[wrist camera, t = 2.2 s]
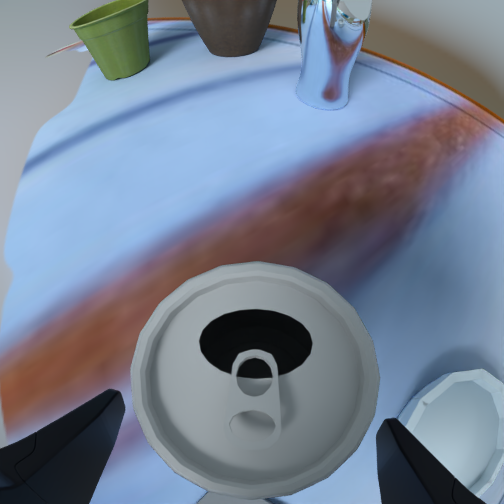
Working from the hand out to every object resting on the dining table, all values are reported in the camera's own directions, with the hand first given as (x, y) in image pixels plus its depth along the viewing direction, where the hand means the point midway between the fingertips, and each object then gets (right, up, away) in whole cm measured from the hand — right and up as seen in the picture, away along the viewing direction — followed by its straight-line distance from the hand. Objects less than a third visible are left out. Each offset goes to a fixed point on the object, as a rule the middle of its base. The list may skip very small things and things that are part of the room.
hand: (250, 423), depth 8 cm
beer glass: (+8, +23, +22) cm, 33 cm away
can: (0, -3, +9) cm, 9 cm away
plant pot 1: (-19, +33, +27) cm, 46 cm away
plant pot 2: (-3, +36, +28) cm, 46 cm away
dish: (+14, -8, +6) cm, 17 cm away
